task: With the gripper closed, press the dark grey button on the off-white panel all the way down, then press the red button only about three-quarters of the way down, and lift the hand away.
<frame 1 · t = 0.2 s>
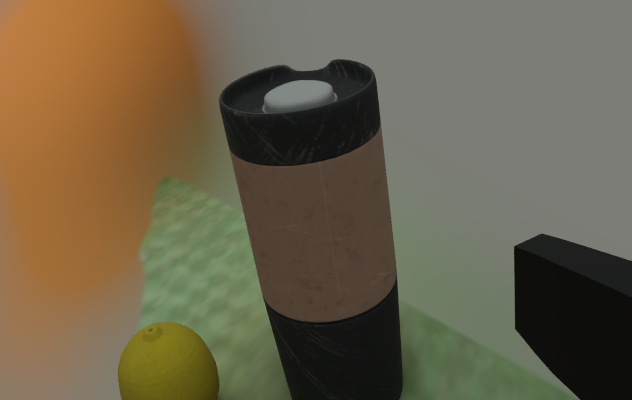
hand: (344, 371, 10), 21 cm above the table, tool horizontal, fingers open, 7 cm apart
travel mug: (347, 387, 38), on the table
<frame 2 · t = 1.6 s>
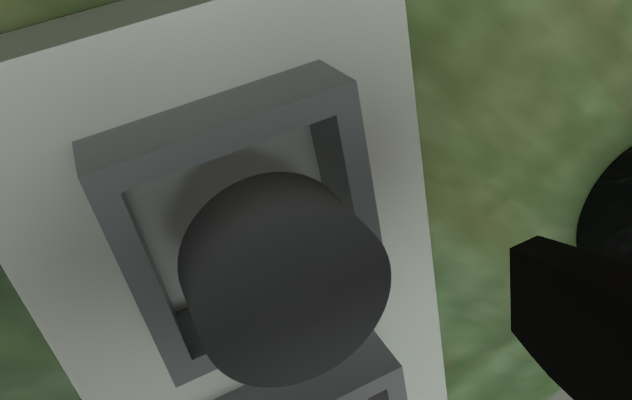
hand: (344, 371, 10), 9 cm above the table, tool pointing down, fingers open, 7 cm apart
button panel: (244, 277, 20), on the table
grey button: (283, 278, 12), point 6 cm above the table, slide at 0.0 cm
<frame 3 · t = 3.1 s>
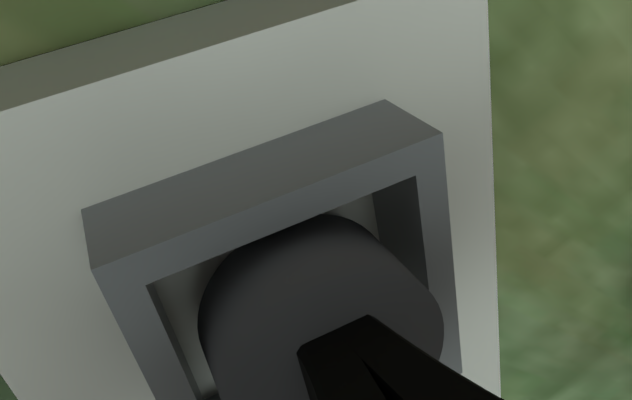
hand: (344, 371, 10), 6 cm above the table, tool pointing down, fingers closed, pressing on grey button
button panel: (277, 338, 17), on the table
grey button: (319, 336, 11), point 5 cm above the table, slide at 1.4 cm, touching gripper
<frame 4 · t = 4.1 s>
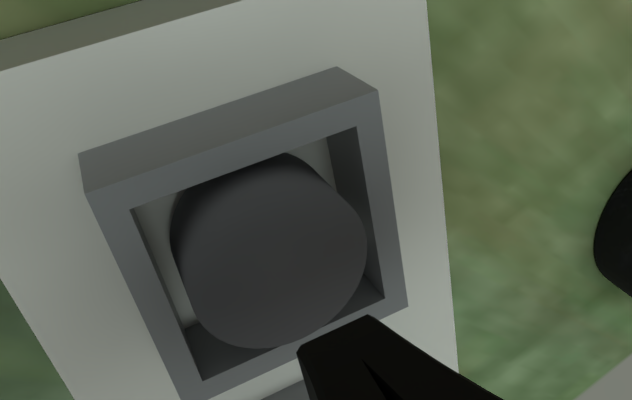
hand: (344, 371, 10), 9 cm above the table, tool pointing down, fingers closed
button panel: (254, 289, 19), on the table
grey button: (267, 248, 13), point 4 cm above the table, slide at 2.0 cm
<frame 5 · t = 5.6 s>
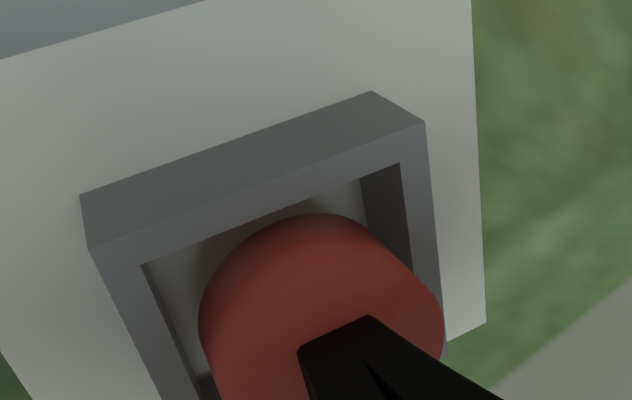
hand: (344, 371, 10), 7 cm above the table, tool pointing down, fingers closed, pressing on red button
red button: (319, 336, 11), point 6 cm above the table, slide at 0.8 cm, touching gripper
button panel: (178, 32, 13), on the table
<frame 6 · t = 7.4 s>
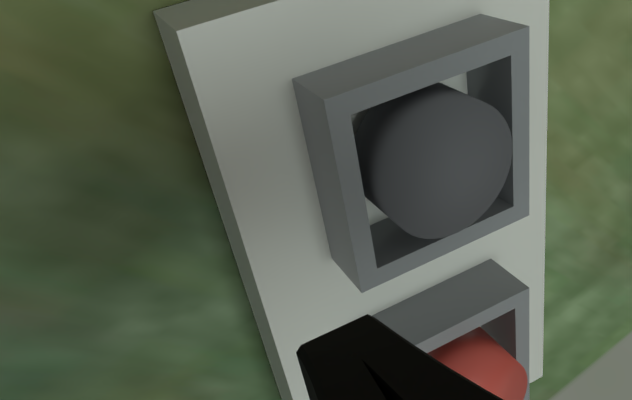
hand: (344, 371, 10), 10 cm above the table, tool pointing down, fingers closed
red button: (462, 387, 21), point 5 cm above the table, slide at 1.4 cm
button panel: (374, 219, 23), on the table
grey button: (430, 159, 17), point 4 cm above the table, slide at 2.0 cm
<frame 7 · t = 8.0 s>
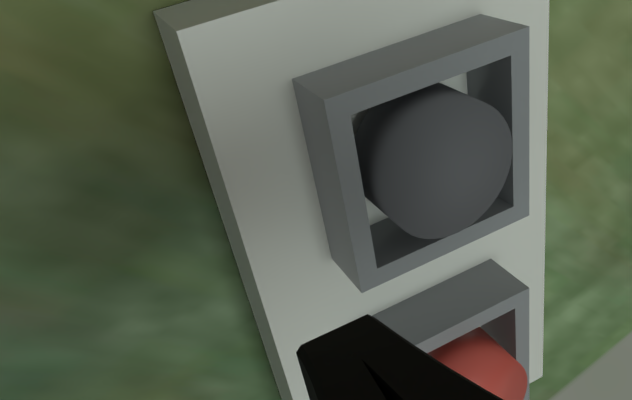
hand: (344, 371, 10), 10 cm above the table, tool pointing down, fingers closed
red button: (462, 387, 21), point 5 cm above the table, slide at 1.4 cm
button panel: (374, 219, 23), on the table
grey button: (430, 159, 17), point 4 cm above the table, slide at 2.0 cm
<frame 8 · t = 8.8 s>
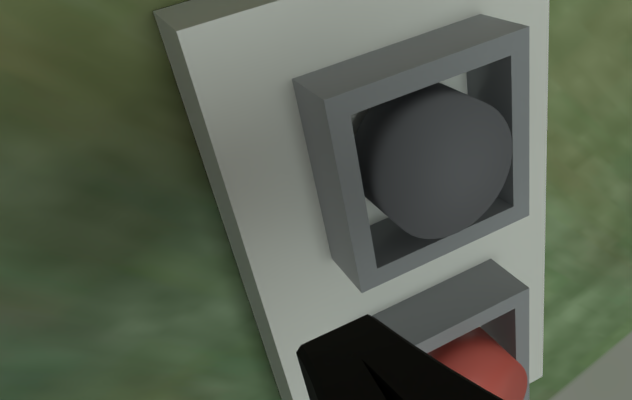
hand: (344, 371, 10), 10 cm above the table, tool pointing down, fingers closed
red button: (462, 387, 21), point 5 cm above the table, slide at 1.4 cm
button panel: (374, 219, 23), on the table
grey button: (430, 159, 17), point 4 cm above the table, slide at 2.0 cm
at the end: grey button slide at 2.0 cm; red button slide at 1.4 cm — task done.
